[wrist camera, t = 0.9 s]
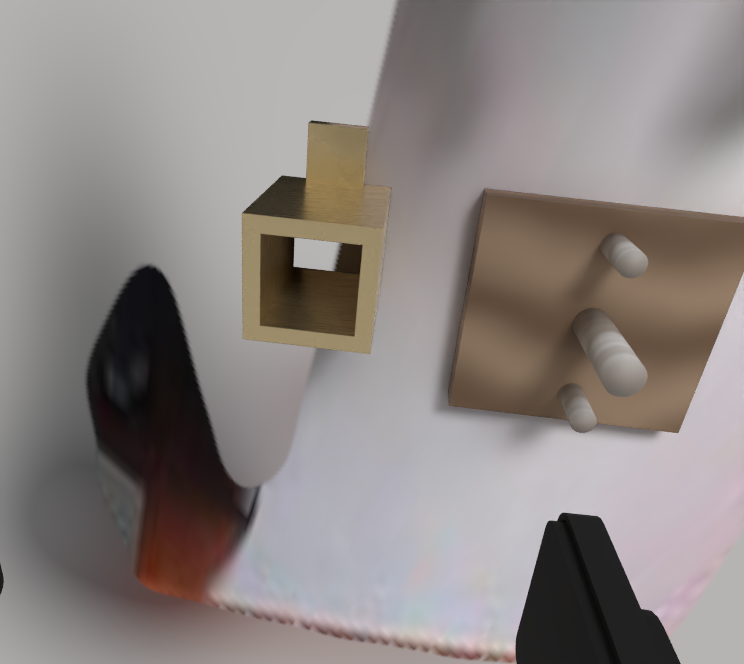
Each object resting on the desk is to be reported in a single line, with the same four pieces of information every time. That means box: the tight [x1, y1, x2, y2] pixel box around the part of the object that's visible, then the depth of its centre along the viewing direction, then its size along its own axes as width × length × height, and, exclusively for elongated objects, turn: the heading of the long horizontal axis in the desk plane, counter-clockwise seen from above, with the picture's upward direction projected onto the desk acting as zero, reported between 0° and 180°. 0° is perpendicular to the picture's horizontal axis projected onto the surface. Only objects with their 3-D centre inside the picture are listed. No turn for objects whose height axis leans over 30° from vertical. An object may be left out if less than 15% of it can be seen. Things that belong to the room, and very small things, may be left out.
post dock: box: [448, 189, 744, 433], centre depth 30 cm, size 13×14×8 cm
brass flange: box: [242, 121, 391, 354], centre depth 29 cm, size 12×6×8 cm, turn 175°
